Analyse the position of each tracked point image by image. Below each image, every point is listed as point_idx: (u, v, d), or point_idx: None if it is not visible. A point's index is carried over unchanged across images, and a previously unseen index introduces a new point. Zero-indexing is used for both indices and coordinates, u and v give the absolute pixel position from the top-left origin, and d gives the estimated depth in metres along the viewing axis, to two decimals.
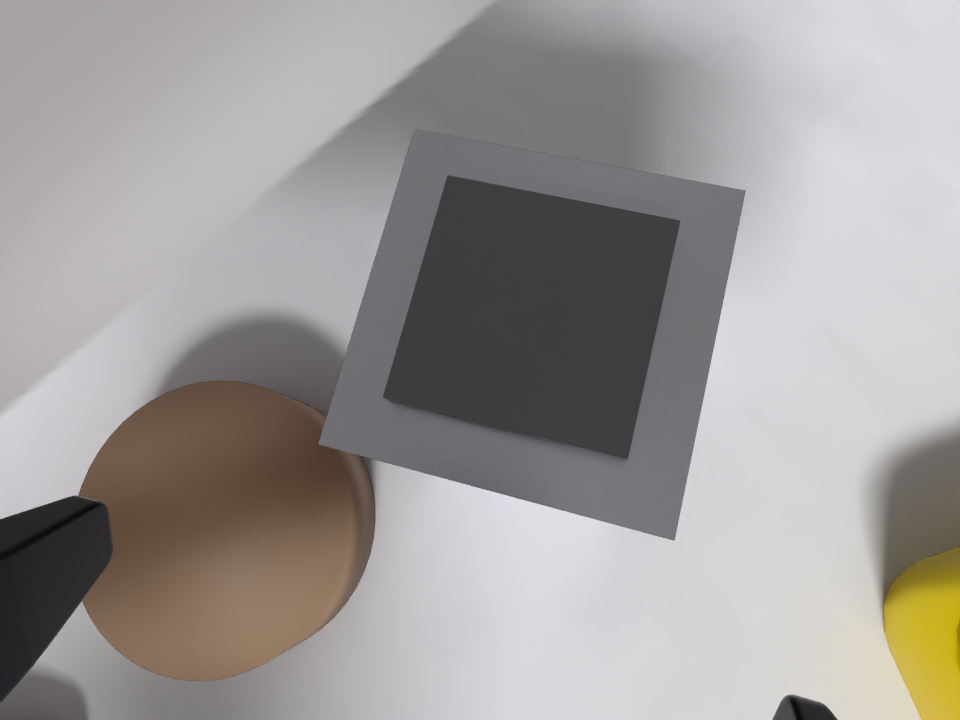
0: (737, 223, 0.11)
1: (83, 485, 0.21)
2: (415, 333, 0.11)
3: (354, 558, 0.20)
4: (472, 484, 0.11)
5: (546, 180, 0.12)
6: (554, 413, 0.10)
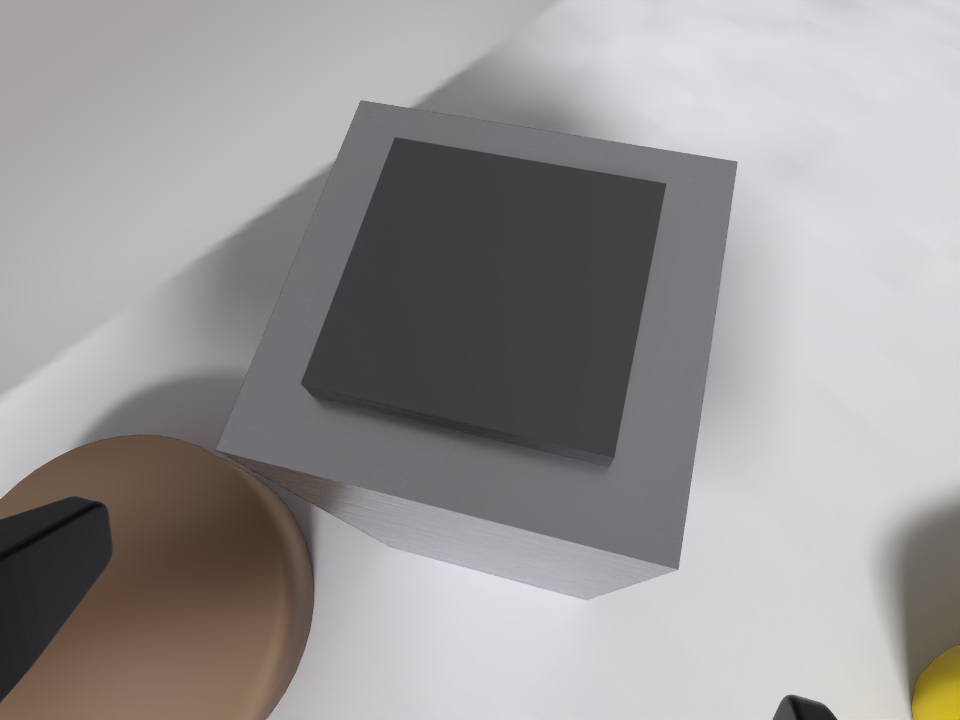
0: (730, 195, 0.09)
1: None
2: (347, 308, 0.09)
3: (283, 650, 0.17)
4: (413, 499, 0.08)
5: (510, 151, 0.10)
6: (519, 401, 0.08)
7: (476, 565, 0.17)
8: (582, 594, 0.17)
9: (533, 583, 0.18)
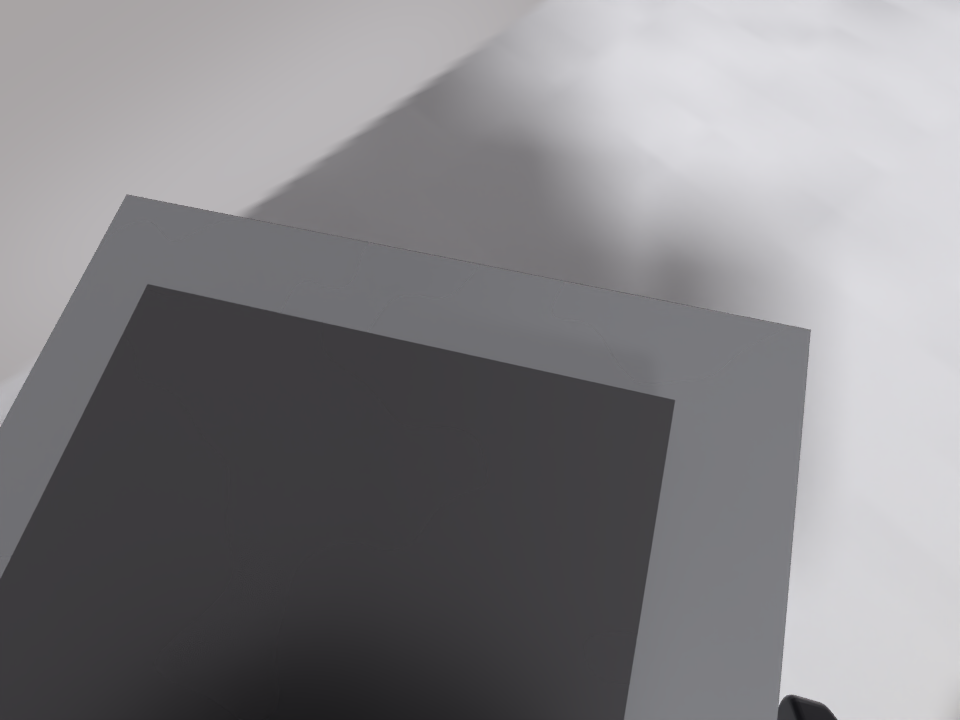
0: (801, 403, 0.05)
1: None
2: None
3: None
4: None
5: (381, 300, 0.05)
6: None
7: None
8: None
9: None
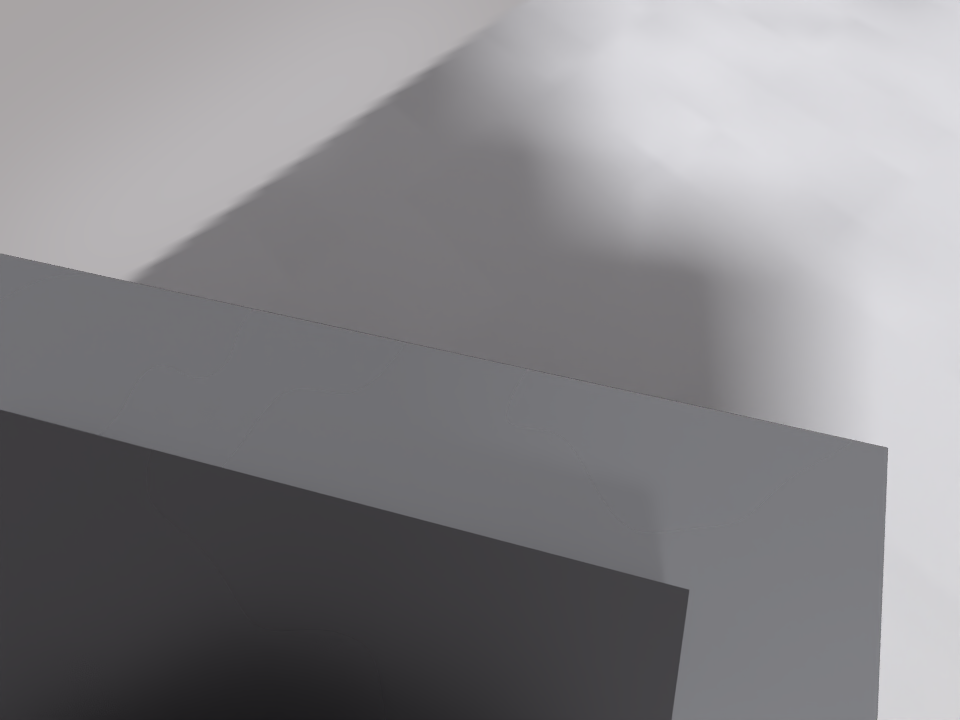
0: (878, 567, 0.03)
1: None
2: None
3: None
4: None
5: (262, 395, 0.04)
6: None
7: None
8: None
9: None
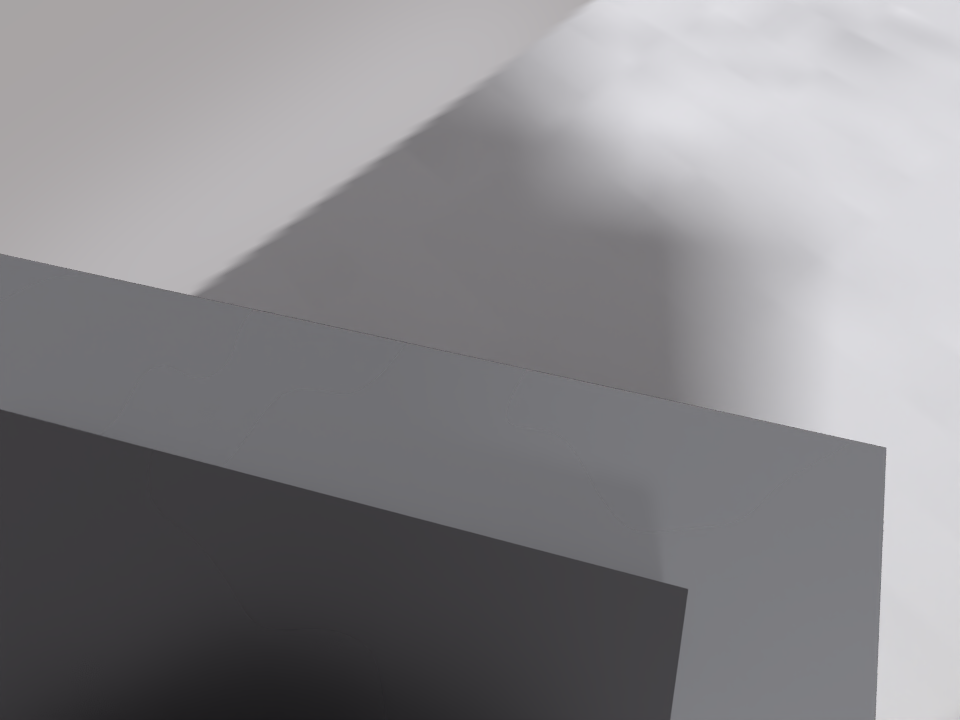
0: (876, 566, 0.03)
1: None
2: None
3: None
4: None
5: (262, 395, 0.04)
6: None
7: None
8: None
9: None
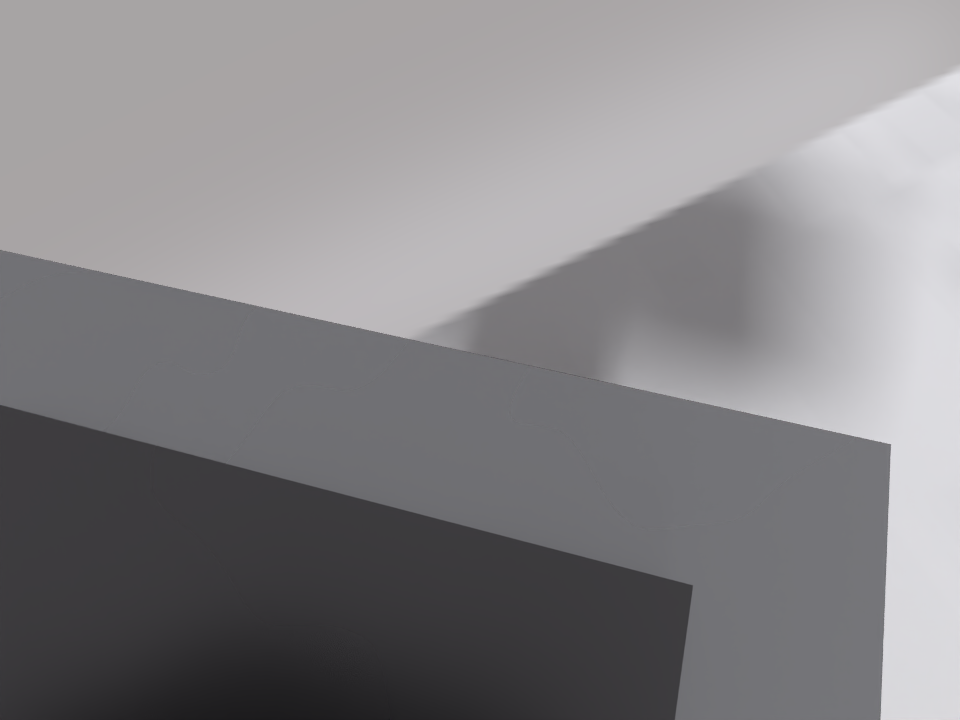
0: (881, 562, 0.03)
1: None
2: None
3: None
4: None
5: (265, 392, 0.04)
6: None
7: None
8: None
9: None
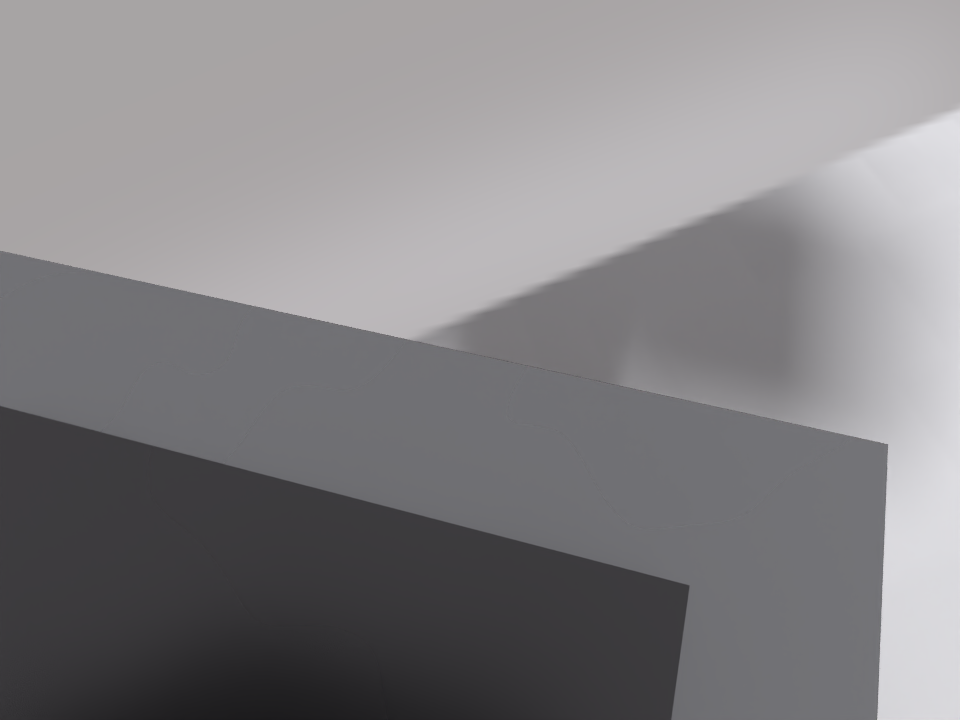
0: (878, 563, 0.03)
1: None
2: None
3: None
4: None
5: (263, 392, 0.04)
6: None
7: None
8: None
9: None
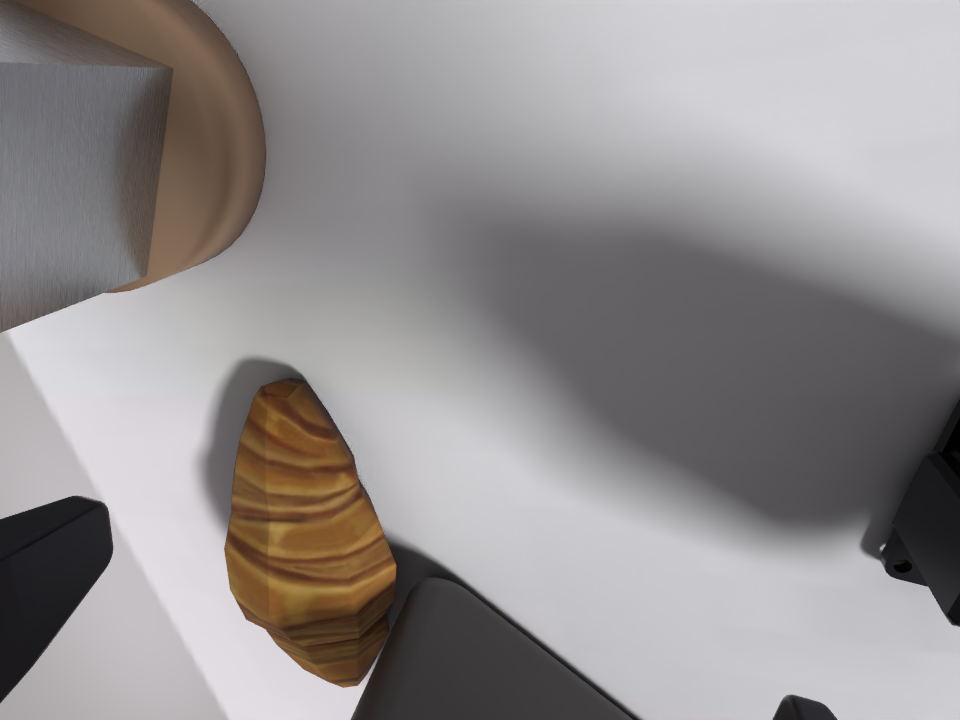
0: None
1: None
2: None
3: None
4: None
5: None
6: None
7: (94, 197, 0.16)
8: (108, 79, 0.15)
9: (133, 132, 0.16)
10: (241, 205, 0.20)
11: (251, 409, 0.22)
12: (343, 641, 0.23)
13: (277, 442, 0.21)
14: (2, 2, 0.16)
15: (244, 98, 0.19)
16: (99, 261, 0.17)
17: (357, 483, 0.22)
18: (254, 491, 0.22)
